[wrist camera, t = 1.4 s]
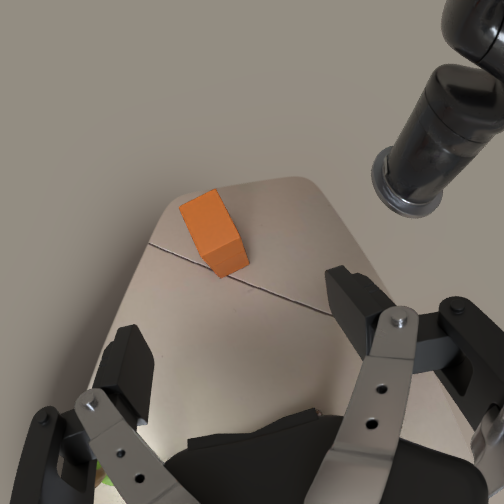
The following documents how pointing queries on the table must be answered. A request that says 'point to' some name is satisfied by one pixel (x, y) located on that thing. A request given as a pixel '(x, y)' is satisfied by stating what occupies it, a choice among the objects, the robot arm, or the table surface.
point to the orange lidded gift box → (214, 233)
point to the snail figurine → (101, 476)
